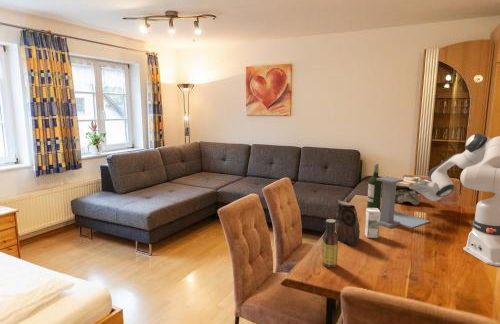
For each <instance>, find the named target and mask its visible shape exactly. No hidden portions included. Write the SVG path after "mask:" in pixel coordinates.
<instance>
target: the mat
mask: <svg viewBox="0 0 500 324" xmlns="http://www.w3.org/2000/svg"><path fill="white" fill-rule="evenodd" d="M380 217H381V212H380ZM394 220H395V221H399V222H400V226H403V227H407V228H409V229H414V228H417V227H420V226H423V225H425V224H428V223H430V220H427V219H424V218H421V217H417V216H415V215H414V216H413V215H410V214H407V213H403V212H401V211H397V210H394Z"/></svg>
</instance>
